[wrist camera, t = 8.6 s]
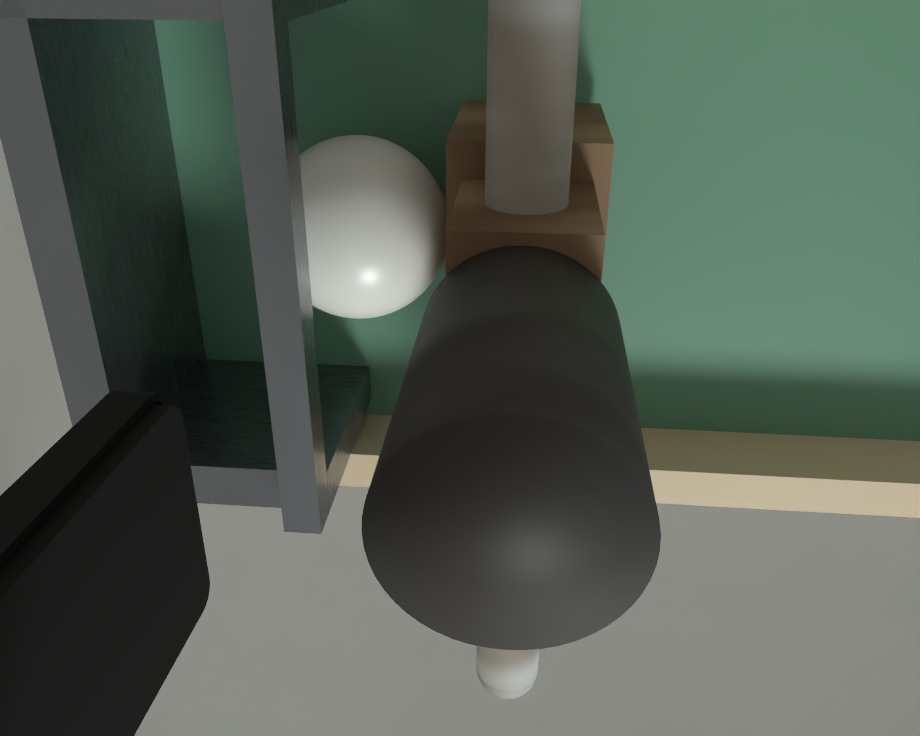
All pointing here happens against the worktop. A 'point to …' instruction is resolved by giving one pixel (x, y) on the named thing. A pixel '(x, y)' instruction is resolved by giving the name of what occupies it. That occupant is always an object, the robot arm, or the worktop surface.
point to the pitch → (646, 222)
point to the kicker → (518, 381)
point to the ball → (370, 225)
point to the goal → (174, 241)
